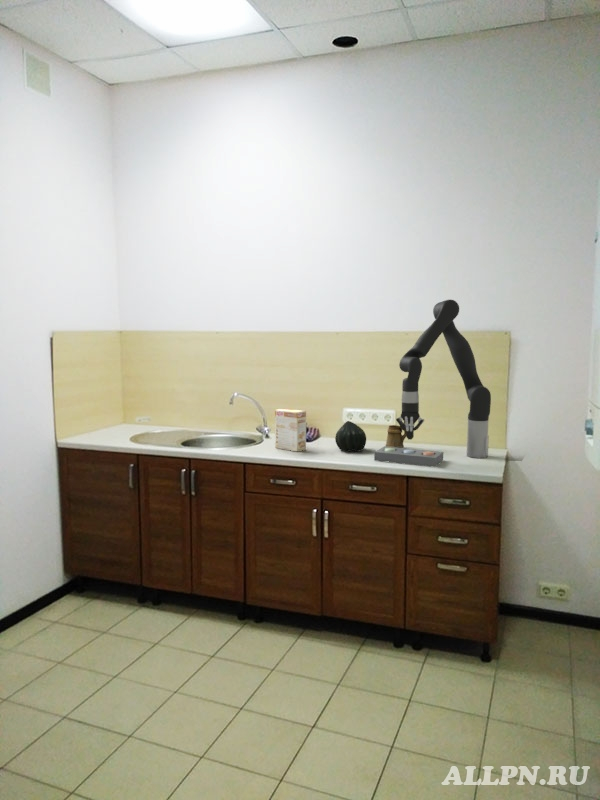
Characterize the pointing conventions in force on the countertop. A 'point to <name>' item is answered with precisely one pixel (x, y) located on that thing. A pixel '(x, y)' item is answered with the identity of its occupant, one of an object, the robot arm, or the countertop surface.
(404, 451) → the slate button
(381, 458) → the button panel
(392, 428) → the wooden mug
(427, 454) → the terracotta button
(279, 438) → the coffeecake box
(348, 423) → the squash
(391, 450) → the sage button
